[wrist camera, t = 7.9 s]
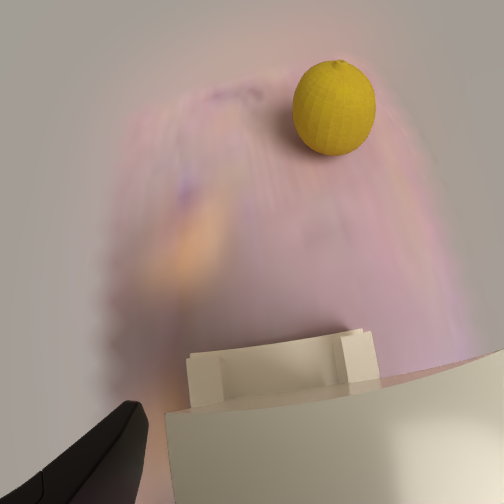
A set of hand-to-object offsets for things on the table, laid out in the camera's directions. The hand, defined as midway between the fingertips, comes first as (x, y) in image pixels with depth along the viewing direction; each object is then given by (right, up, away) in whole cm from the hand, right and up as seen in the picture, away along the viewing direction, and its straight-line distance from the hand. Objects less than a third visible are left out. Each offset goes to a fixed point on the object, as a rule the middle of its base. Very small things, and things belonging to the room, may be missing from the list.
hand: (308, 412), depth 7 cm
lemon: (+4, +12, +16) cm, 20 cm away
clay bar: (0, -4, +6) cm, 8 cm away
